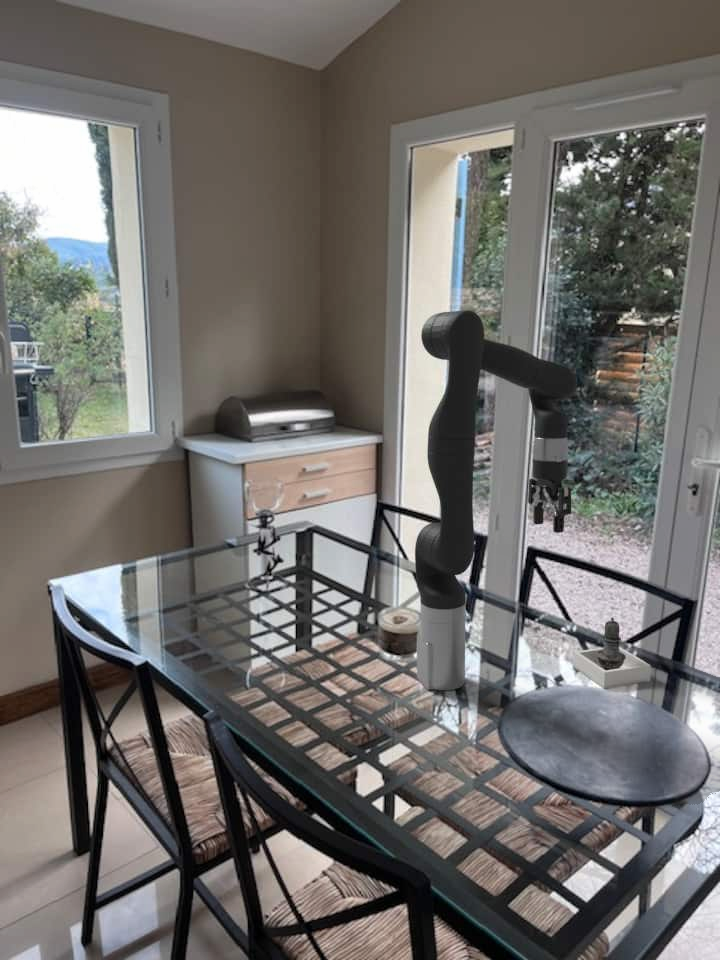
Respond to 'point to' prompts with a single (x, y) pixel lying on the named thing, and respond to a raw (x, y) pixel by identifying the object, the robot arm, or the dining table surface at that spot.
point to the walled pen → (624, 675)
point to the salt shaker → (611, 647)
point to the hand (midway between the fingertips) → (548, 528)
